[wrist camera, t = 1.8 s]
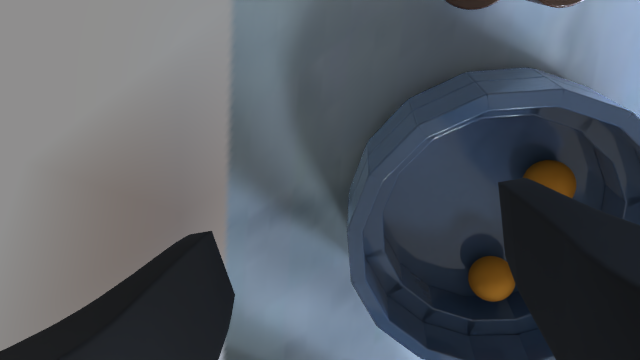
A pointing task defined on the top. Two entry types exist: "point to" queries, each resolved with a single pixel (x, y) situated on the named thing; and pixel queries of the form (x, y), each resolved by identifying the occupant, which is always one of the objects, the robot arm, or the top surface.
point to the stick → (482, 0)
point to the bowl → (474, 202)
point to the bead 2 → (553, 176)
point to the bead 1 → (491, 278)
